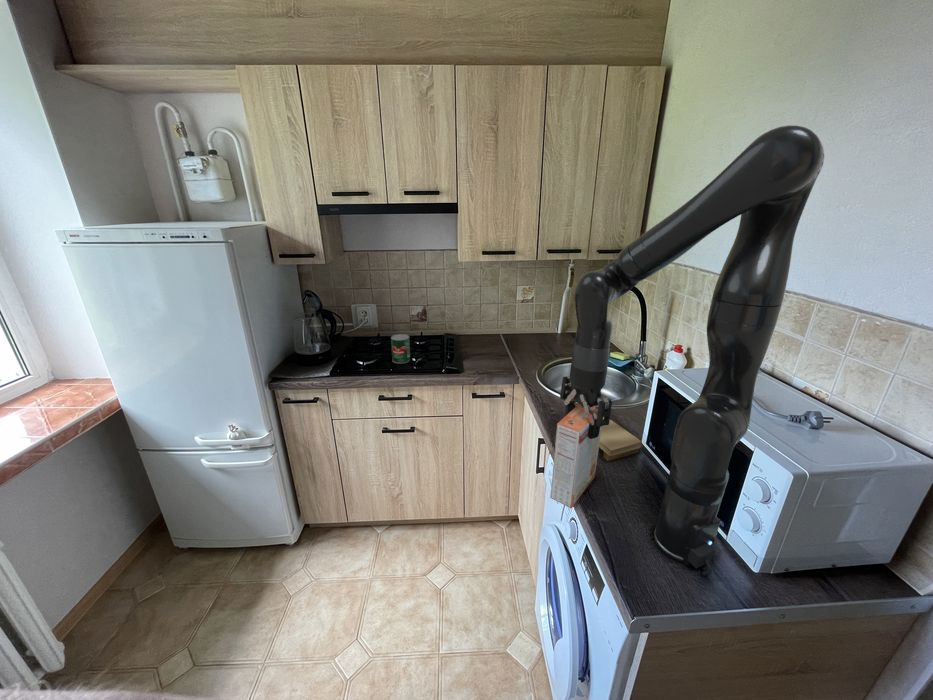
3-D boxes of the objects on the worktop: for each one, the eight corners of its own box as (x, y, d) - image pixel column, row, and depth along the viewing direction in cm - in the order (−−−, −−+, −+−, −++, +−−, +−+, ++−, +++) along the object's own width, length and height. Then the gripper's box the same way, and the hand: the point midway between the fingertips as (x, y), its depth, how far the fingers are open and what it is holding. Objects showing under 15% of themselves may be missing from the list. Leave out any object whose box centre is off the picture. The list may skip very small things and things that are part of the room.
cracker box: (573, 468, 101) (582, 398, 93) (595, 478, 97) (606, 406, 90) (547, 497, 91) (556, 421, 83) (571, 510, 87) (582, 431, 80)
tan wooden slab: (639, 453, 107) (642, 441, 106) (609, 462, 103) (611, 450, 102) (598, 423, 122) (600, 412, 121) (570, 430, 118) (571, 419, 117)
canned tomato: (393, 364, 165) (392, 340, 161) (391, 358, 172) (389, 334, 168) (411, 362, 167) (410, 338, 163) (408, 356, 174) (407, 333, 170)
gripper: (555, 353, 87) (549, 416, 93) (598, 379, 74) (587, 448, 80) (582, 349, 89) (574, 410, 95) (627, 373, 77) (615, 441, 83)
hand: (580, 427), depth 88 cm, fingers closed on cracker box, 8 cm apart
